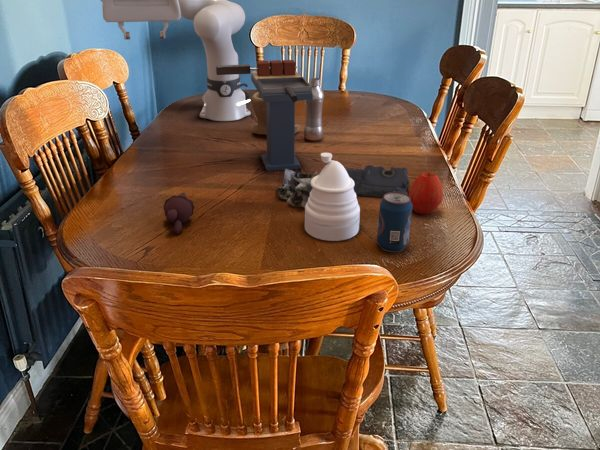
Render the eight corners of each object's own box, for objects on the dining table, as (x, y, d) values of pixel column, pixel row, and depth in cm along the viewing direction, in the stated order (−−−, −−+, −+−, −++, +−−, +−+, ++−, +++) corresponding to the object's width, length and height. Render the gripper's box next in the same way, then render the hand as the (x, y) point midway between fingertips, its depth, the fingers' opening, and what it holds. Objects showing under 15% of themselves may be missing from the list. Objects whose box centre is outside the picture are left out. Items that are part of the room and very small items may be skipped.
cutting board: (251, 74, 167) (251, 71, 166) (295, 73, 169) (295, 69, 169) (256, 83, 158) (256, 79, 158) (302, 81, 161) (302, 77, 160)
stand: (253, 150, 179) (251, 73, 168) (293, 148, 182) (294, 72, 170) (265, 181, 158) (263, 95, 147) (310, 177, 161) (312, 93, 150)
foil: (329, 176, 153) (320, 164, 139) (321, 215, 153) (312, 208, 138) (287, 169, 156) (275, 157, 141) (279, 208, 155) (266, 200, 140)
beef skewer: (216, 75, 162) (215, 62, 160) (295, 72, 166) (295, 59, 164) (217, 78, 159) (216, 65, 157) (297, 75, 163) (298, 62, 161)
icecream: (164, 184, 140) (151, 216, 127) (193, 177, 139) (183, 209, 126) (174, 207, 144) (163, 241, 131) (202, 201, 143) (193, 235, 130)
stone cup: (246, 138, 190) (244, 93, 183) (258, 127, 200) (257, 84, 193) (289, 142, 186) (290, 97, 179) (300, 131, 196) (300, 88, 189)
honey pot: (296, 234, 131) (297, 161, 123) (315, 211, 142) (316, 142, 133) (350, 245, 127) (354, 170, 119) (365, 220, 138) (370, 150, 129)
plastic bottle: (323, 136, 192) (325, 76, 182) (322, 143, 186) (324, 82, 177) (304, 135, 192) (305, 76, 183) (302, 142, 186) (303, 81, 177)
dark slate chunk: (329, 171, 165) (330, 156, 162) (406, 176, 162) (408, 161, 160) (324, 193, 151) (325, 177, 149) (408, 199, 149) (410, 182, 146)
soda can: (376, 237, 131) (380, 189, 125) (406, 239, 130) (412, 191, 124) (376, 252, 124) (381, 203, 119) (408, 254, 124) (414, 205, 118)
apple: (446, 216, 140) (452, 176, 135) (416, 220, 138) (421, 179, 133) (430, 202, 147) (436, 163, 142) (401, 206, 145) (406, 166, 140)
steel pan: (257, 84, 157) (256, 77, 157) (302, 82, 160) (303, 75, 159) (268, 104, 140) (268, 96, 139) (320, 101, 143) (320, 94, 142)
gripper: (96, -15, 144) (104, 41, 151) (178, -16, 148) (183, 39, 154) (98, -17, 150) (106, 37, 156) (177, -18, 153) (182, 35, 160)
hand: (145, 38), depth 155 cm, fingers open, 8 cm apart
